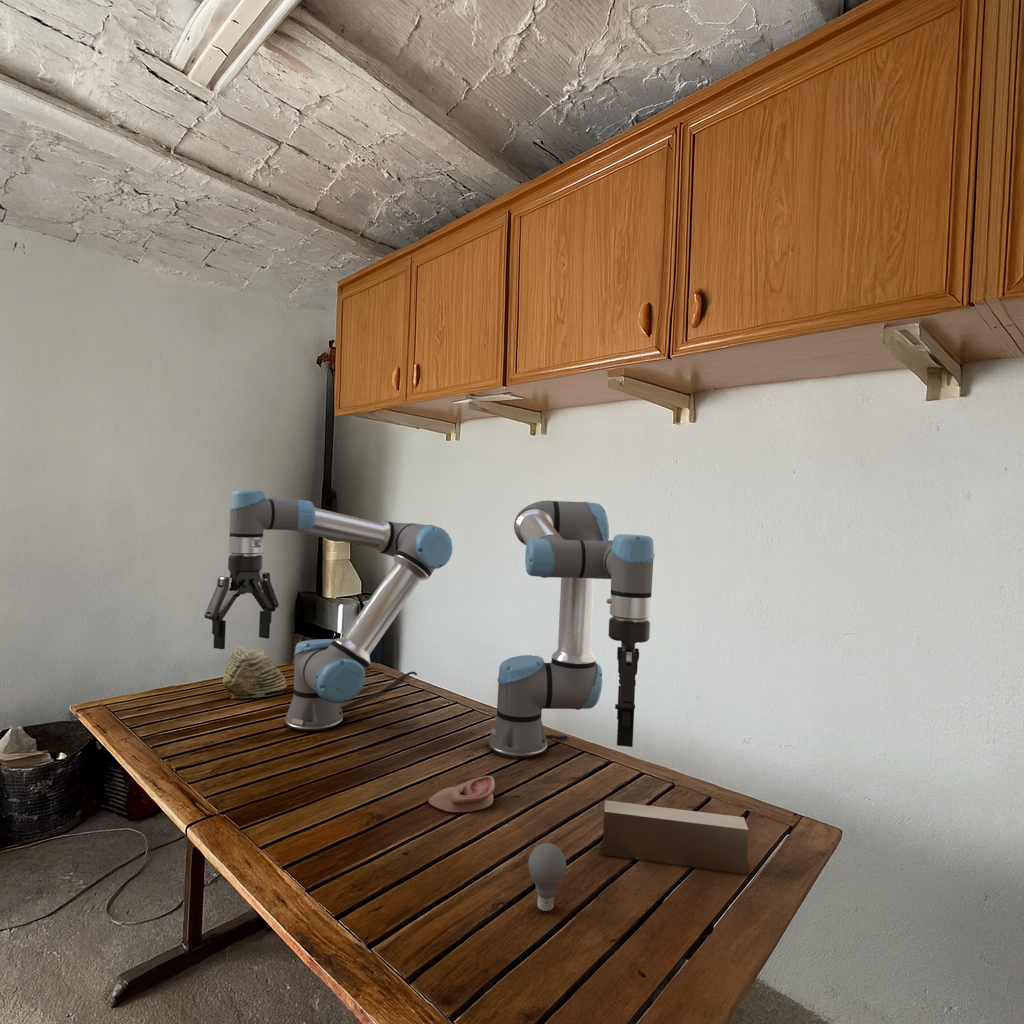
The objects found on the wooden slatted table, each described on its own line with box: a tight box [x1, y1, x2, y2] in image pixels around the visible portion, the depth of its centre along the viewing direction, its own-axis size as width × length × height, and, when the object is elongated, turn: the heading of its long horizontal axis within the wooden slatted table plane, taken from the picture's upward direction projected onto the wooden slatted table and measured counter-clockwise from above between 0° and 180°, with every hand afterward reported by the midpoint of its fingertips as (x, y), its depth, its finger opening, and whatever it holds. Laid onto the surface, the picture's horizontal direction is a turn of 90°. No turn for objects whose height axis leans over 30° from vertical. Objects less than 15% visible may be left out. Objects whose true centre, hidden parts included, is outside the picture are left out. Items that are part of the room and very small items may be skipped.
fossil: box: [222, 646, 288, 699], centre depth 198 cm, size 9×18×15 cm, turn 132°
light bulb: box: [527, 842, 567, 912], centre depth 100 cm, size 6×6×10 cm
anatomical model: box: [427, 775, 496, 813], centre depth 134 cm, size 13×4×12 cm
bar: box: [601, 800, 750, 875], centre depth 116 cm, size 25×5×8 cm, turn 80°
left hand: (242, 643), depth 152 cm, fingers open, 13 cm apart
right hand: (624, 732), depth 118 cm, fingers open, 13 cm apart
